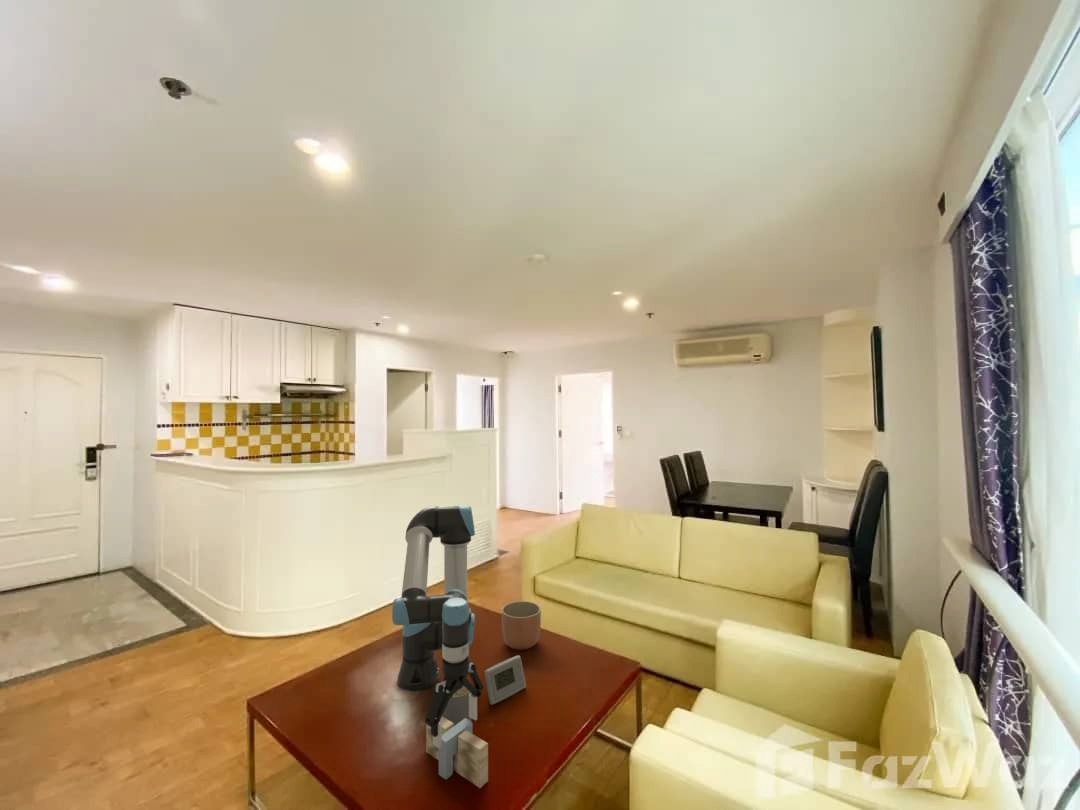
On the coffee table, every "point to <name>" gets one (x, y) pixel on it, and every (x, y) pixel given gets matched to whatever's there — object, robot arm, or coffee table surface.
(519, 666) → the digital clock
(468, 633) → the robot arm
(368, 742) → the coffee table surface
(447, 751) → the bridge plate
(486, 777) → the maple rail
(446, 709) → the coffee mug
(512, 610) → the planter
